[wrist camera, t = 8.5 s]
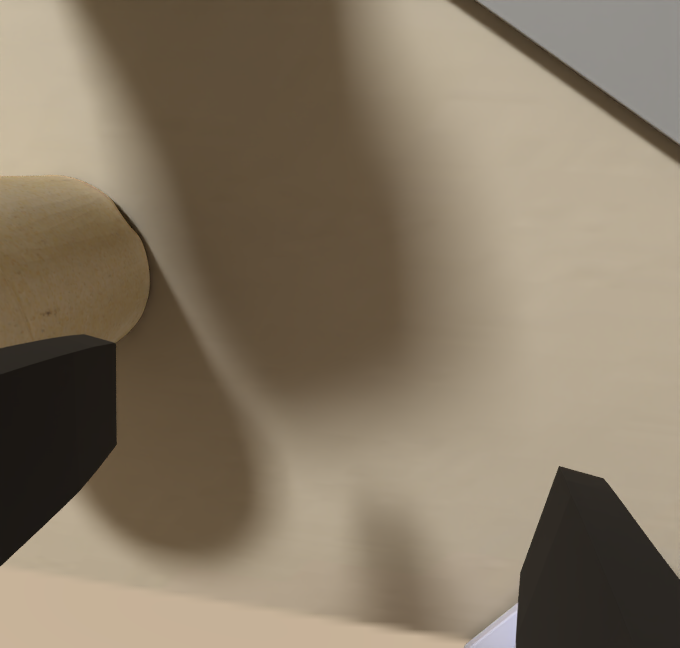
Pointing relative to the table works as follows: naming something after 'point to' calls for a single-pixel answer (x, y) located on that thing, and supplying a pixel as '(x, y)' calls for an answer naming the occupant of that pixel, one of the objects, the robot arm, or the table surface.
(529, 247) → the table surface
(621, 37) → the plate
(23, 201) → the flower pot
